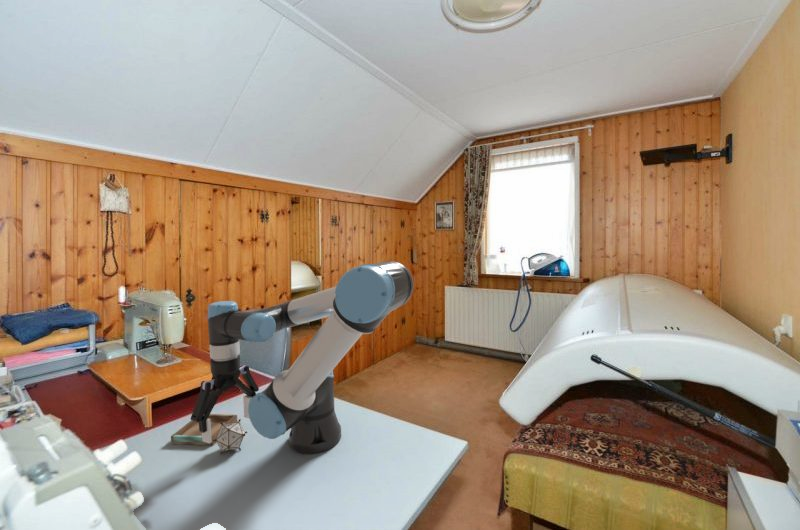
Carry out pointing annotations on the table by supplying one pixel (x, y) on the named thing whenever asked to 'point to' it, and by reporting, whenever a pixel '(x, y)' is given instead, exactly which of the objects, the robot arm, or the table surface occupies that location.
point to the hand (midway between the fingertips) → (229, 428)
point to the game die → (230, 436)
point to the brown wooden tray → (194, 436)
